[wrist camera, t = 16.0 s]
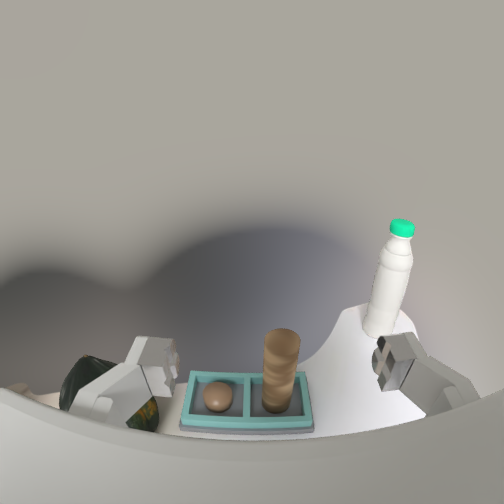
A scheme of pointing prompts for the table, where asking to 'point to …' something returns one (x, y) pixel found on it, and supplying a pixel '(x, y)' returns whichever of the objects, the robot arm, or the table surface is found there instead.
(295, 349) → the oak post
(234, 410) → the housing plate
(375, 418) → the table surface
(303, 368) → the table surface
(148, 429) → the squash
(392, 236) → the water bottle
